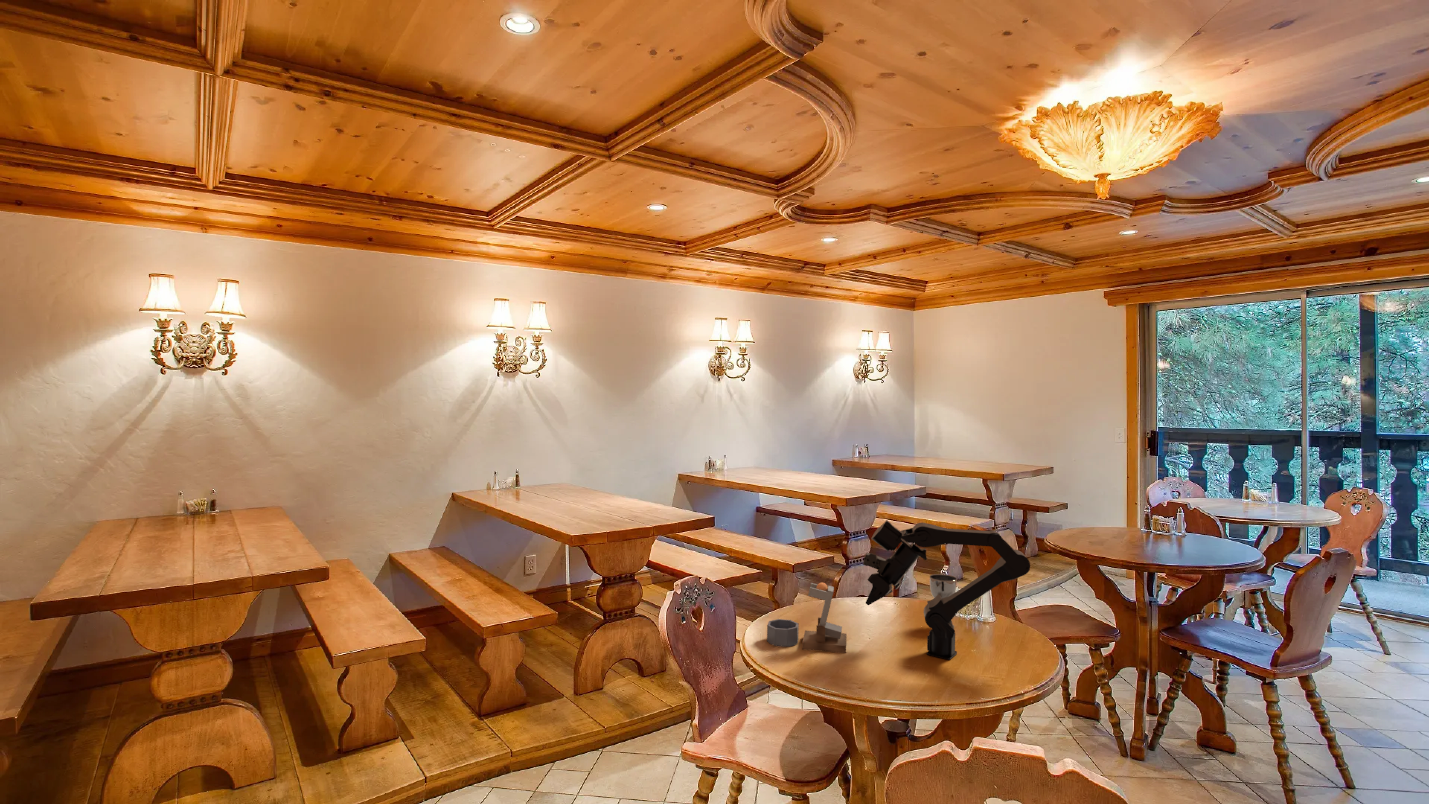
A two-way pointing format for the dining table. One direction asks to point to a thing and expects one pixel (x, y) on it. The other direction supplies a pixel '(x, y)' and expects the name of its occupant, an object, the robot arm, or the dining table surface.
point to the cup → (782, 632)
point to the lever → (826, 610)
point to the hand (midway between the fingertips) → (867, 604)
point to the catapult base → (823, 641)
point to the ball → (822, 587)
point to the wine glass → (942, 585)
